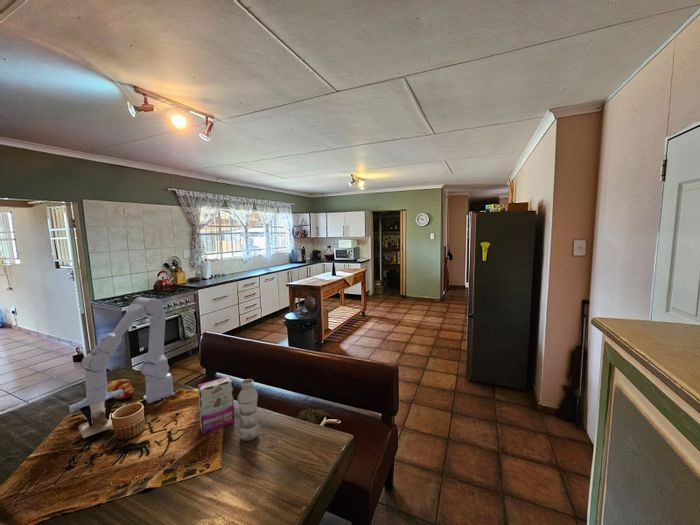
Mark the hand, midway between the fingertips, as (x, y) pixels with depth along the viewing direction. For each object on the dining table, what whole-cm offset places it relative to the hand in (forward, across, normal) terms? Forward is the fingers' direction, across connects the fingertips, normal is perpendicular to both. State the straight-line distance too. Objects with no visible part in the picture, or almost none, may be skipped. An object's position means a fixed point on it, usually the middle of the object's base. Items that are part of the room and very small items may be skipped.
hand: (99, 421), depth 104 cm
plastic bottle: (+2, -32, +48) cm, 57 cm away
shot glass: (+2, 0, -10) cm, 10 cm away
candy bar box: (+2, -28, +32) cm, 43 cm away
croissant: (+2, -10, -22) cm, 25 cm away
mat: (+2, 0, 0) cm, 2 cm away
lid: (+1, 0, 0) cm, 1 cm away
